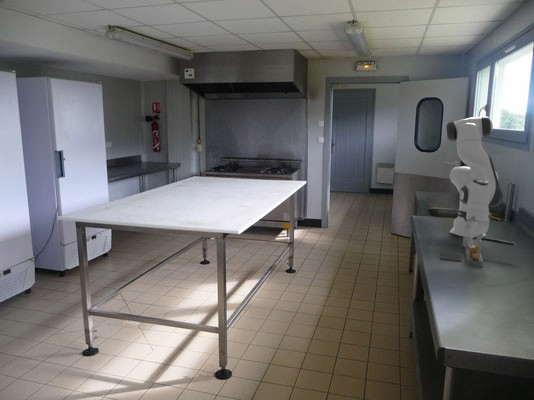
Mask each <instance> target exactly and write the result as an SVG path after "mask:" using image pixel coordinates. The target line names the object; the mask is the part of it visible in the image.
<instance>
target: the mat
mask: <svg viewBox="0 0 534 400" xmlns="http://www.w3.org/2000/svg"><path fill="white" fill-rule="evenodd" d="M439 260H442V261H451V262H457V263H462V258H461V254H459V253H450V252H449V253H448V252H440V253H439Z"/></svg>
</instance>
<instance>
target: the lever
mask: <svg viewBox="0 0 534 400" xmlns="http://www.w3.org/2000/svg"><path fill="white" fill-rule="evenodd" d="M473 239H477V236H476V237H474V238H473ZM481 241H484V242H490V243H496V244H503V245H509V246H515V245H516V242H515V241H508V240H503V239H496V238H491V237H487V236H483V237H482V239H481Z"/></svg>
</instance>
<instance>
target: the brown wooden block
mask: <svg viewBox="0 0 534 400" xmlns="http://www.w3.org/2000/svg"><path fill="white" fill-rule="evenodd" d="M481 250H482V248H481V245H480V244H479V245H473V246H472V247H469V256H472V255H473V253H479V254H481V255H482V251H481ZM479 257H480V256H479Z"/></svg>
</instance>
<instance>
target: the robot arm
mask: <svg viewBox="0 0 534 400" xmlns="http://www.w3.org/2000/svg"><path fill="white" fill-rule="evenodd" d="M493 126H494V125H493V122H492V120H491V118H490V117H489V116H477V117H476V116H475V117H468V118H462V119H458V120H456V121H454V120H452V121H449V122H448V123H447V124H446V126H445V133H444V134H445V136H446V138H447V140H448V141H450V142H456V151H457V156H458V157H459V158H460V160H461V161H462V163H464V164H465V165H467V166H455V167H453V168H451V171H450V173H449V179H450V182H451V183H452V184H453V186H455V187H456V189H457V190H458V191H457V192H458V194H459V198H458V199H459V200H458V201H459V209H458V211H457V217H456V218H455V219H454V220H453V227H452V228H451V230H449V234H450V233H451V234H453V235H457V236H459V237H464V238H467V242H468V245H467V246H468V247H472V246H473V243H472V240H473V238H474V237H476V236H477V239H476V243H479V244H480V243H482V240H481V239H482V237H487V234H486V233H487V232H488V231H489V227H490V219H491V218H492V213H491V212H490V208H489V207H491V208H495V207H497V206H498V205H501V203H502V202H503V199H504V193H503V190H502V187H501V185H500V183H499V175H498V172H497V171H496V169H495V166H494V163H493V159H492V157H491V155H490V154H488V153H486V151H485V150H484V148H483V144H482V138H486V137H488V136H490V135H491V134H492V131H493V128H494V127H493Z"/></svg>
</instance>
